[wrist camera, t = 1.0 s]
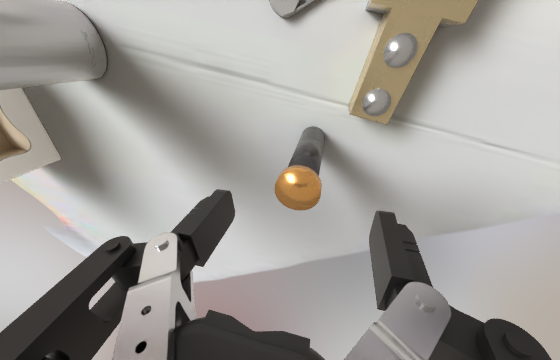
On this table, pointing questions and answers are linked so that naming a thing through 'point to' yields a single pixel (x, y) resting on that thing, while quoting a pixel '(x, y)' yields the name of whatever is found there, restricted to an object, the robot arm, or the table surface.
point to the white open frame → (22, 137)
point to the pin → (302, 173)
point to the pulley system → (288, 7)
